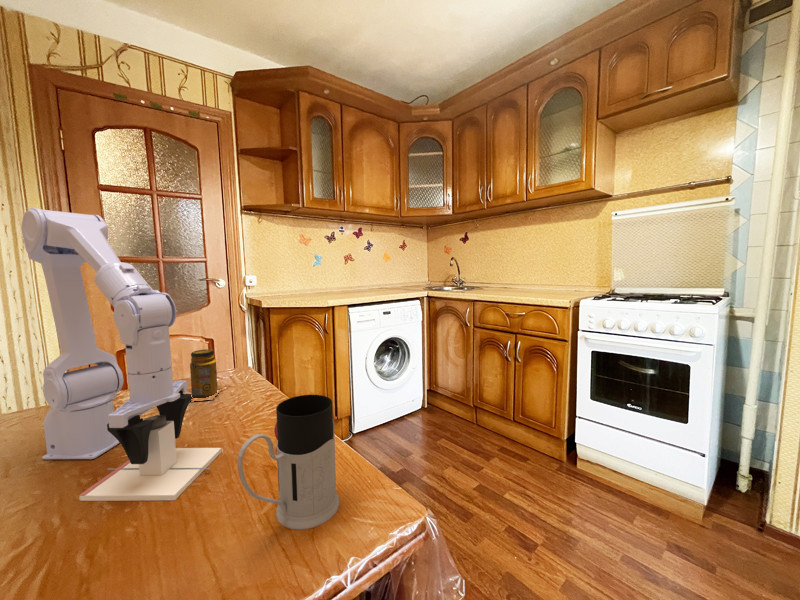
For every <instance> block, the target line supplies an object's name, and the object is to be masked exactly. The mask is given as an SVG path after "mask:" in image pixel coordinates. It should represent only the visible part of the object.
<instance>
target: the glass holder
mask: <svg viewBox="0 0 800 600" xmlns="http://www.w3.org/2000/svg"><path fill="white" fill-rule="evenodd" d="M275 409H276V412H275V413H276V414H275V415H276V422H277V436H278V440H277V441H276V455H275V449H274V443H273V441H272V439H271V438H270V437H269V436H268V435H266V434H263V433H259V434H254V435H253V436H250V438H248V439H247V440H246V441H244V443H243V445H241V448H240V450H239V452H238V455H237V471H238V472H237V473H238V477H239V479H240V482H241V484H242V487H243V488H244V490H245V491H246V492H247V493H248V494H249V495H250V496H251V497H252V498H254V499H256V500H259V501H263V502H266V503H269V504H275V505H277V506H276V507H277V508H276V510H275V511H276V512H275V516H276V520H277V521H278V522H279V524H281V525H282V526H283V527H285V528H287V529H291V530H296V531H297V530H309V529H313V528H316V527H319V526H321V525H323V524H325V523H326V522H327V521H329V520H330V519H332V518H333V517H334V516H335V514H336V513H337V512H338V509H339V508H340V502H341V501H340V496H339V494H338V492H337V481H336V479H337V477H336V475H337V474H336V446H335V445H336V442H335V438H336V437H335V421H334V415H333V414H334V413H333V409H334V408H333V401H332V399H331V398H330V397H328V396H325V395H322V394H302V395H301V394H300V395H296V396H293V397H290V398H286V399H284V400H283V401H281V402H279V403H278V404H277V406H276V408H275ZM259 439H264V440H265V441H266V442H267V446H268V454H269V457H270V458H271V460H272V459H273V460H274V461H277V463H276V466H277V483H278V484H277V486H278V499H274V498H271V497H270V498H269V497H265V496H262V495H259V494H257V493H256V492H255V491H253V489H252V488H251V487H250V485H249V484H248V483H247V482H248V481H247V480H246V477H245V473H244V465H243V463H244V456H245V453H246V450H247V449H248V448H249V446H250V445H251V444H252V443H253V442H255V441H256V440H259Z"/></svg>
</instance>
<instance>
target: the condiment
mask: <svg viewBox="0 0 800 600" xmlns="http://www.w3.org/2000/svg"><path fill="white" fill-rule="evenodd" d="M214 353H215V352H214V350H213V349H207V348H205V349H198V350H195V351H192V352H191V354H190V357H191V359H190V363H189V370H190V385H191V394H192V397H193V398H206V397H209V396H212V395H214V394H215V393H217V390H218V389H219V388H218V375H217V361H216V359H215V354H214ZM190 403H195V402H194V401H192V400H191V402H190Z"/></svg>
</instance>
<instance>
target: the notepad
mask: <svg viewBox="0 0 800 600" xmlns="http://www.w3.org/2000/svg"><path fill="white" fill-rule="evenodd" d="M222 450H223V449H222V447H176V457H177V463H176V464H175V465H173V466H172V467H171V468H170V469H169V470H168V471H166V472H165V473H164V474H163V475H140V474H139V464H131V463H130V460H129V459H128V460H126V461H125V462H124V463H122V464H121V465H119V466H118V467H116V468H110V467H109V468H107V469H106V470H108V471H111V472H109V473H108V474H107V475H105V476H104V477H103V478H101V479H100V480H98V481H97V482H96V483H94V484H93V485H92V486H90V487H89V488H87V489H86V490H85V491H83V492H82V493H80V494H79V495H78V496H79V501H80V502H82V501H83V502H85V501H86V502H93V501H95V502H96V501H97V502H98V501H99V502H100V501H102V502H103V501H104V502H105V501H108V502H109V501H110V502H111V501H113V502H114V501H115V502H116V501H118V502H120V501H121V502H123V501H126V502H127V501H128V502H129V501H130V502H131V501H135V502H137V501H138V502H139V501H176V500H177V499H178V498H179V496H180V495H181V494H182V493H183V492H184V491H186V490H187V488H189V486H190V485H191V484H192V483H193V482H194V481H195V480H196V479H197V478H198V477H200V475H201V474H202V473H203V472H204V471H205V470H210V469H211V467H209V466H210V464H212V462H214V461H215V460H216V458H218V457H219V456H220V455H221V453H222V452H223V451H222Z"/></svg>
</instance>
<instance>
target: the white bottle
mask: <svg viewBox="0 0 800 600" xmlns="http://www.w3.org/2000/svg"><path fill="white" fill-rule="evenodd" d="M144 420H153V421H154V422H153V424H152V427H151V430H150V435H149V441H148V460H147V462H146V463H145V464H139V474H140V475H163V474H164V473H165V472H166V471H168V470H169V469H170V468H171V467H172V466H173V465H175V464H176V463H177V457H176V448H177V447H176V446H177V445H176V439H175V431H174V421H166V416H165V415H160V414H159V415H158V414H157V415H151V416H149V417H145V419H144Z"/></svg>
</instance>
